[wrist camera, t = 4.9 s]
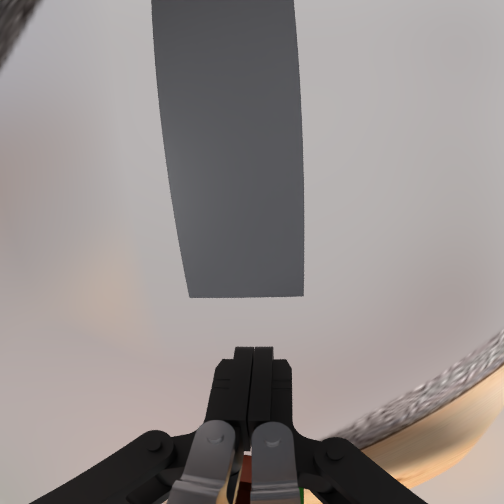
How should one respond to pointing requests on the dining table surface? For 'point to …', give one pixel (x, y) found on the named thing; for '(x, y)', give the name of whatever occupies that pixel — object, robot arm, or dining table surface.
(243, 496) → the motor
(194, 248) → the plug
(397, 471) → the dining table surface
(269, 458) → the robot arm
